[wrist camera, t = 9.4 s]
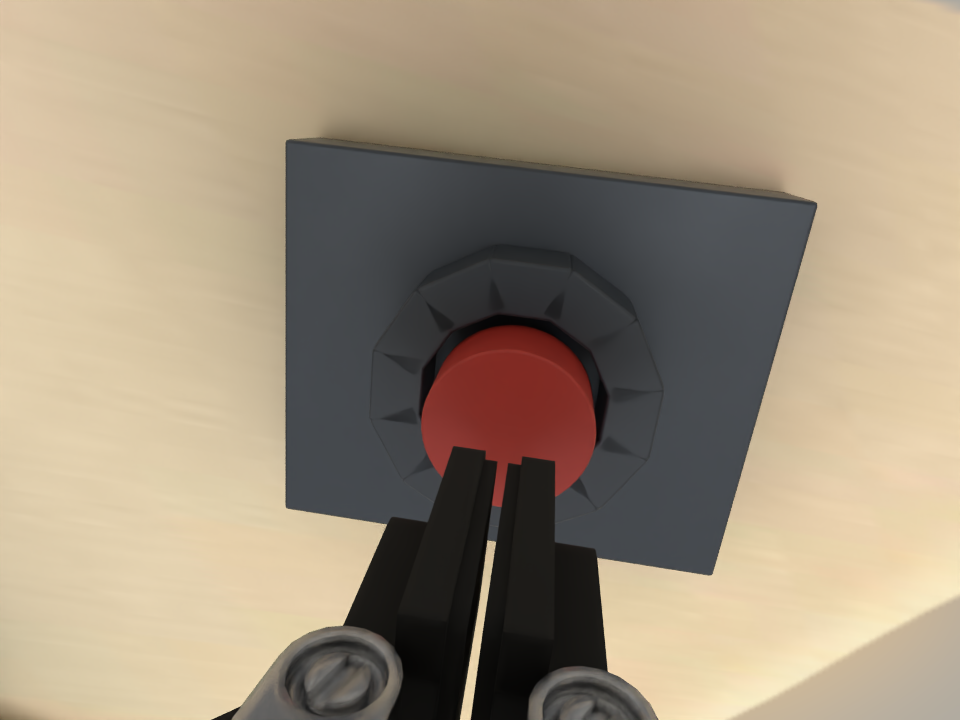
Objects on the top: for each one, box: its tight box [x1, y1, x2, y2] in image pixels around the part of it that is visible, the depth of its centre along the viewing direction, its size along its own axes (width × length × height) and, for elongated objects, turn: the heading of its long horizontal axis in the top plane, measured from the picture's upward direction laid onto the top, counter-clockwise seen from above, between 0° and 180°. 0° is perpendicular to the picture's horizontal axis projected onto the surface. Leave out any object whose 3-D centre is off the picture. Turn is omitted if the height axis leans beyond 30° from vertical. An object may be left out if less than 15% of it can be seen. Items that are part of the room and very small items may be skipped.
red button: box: [421, 325, 596, 507], centre depth 14 cm, size 4×4×2 cm
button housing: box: [286, 138, 817, 575], centre depth 16 cm, size 10×12×4 cm
